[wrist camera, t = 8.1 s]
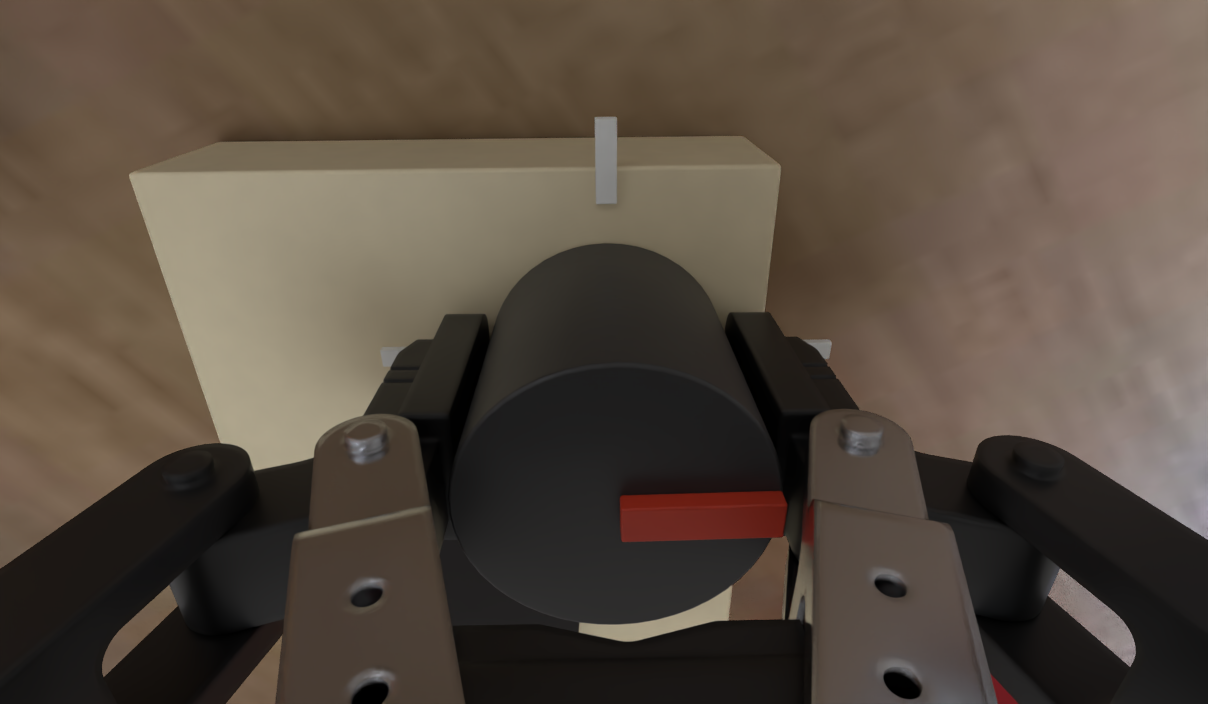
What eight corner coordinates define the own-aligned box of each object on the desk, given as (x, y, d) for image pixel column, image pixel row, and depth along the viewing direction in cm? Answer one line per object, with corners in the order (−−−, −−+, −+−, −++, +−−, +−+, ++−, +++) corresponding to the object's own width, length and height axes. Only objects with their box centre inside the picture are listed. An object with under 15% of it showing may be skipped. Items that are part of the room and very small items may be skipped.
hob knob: (503, 449, 13) (464, 649, 9) (480, 244, 11) (417, 381, 7) (714, 442, 14) (771, 639, 9) (729, 239, 11) (812, 370, 7)
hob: (205, 99, 13) (101, 123, 10) (811, 93, 13) (871, 114, 10) (346, 613, 20) (306, 711, 17) (744, 604, 20) (770, 699, 17)
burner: (273, 507, 14) (265, 519, 14) (576, 501, 14) (575, 513, 14) (333, 700, 17) (328, 714, 17) (582, 694, 17) (582, 708, 17)
